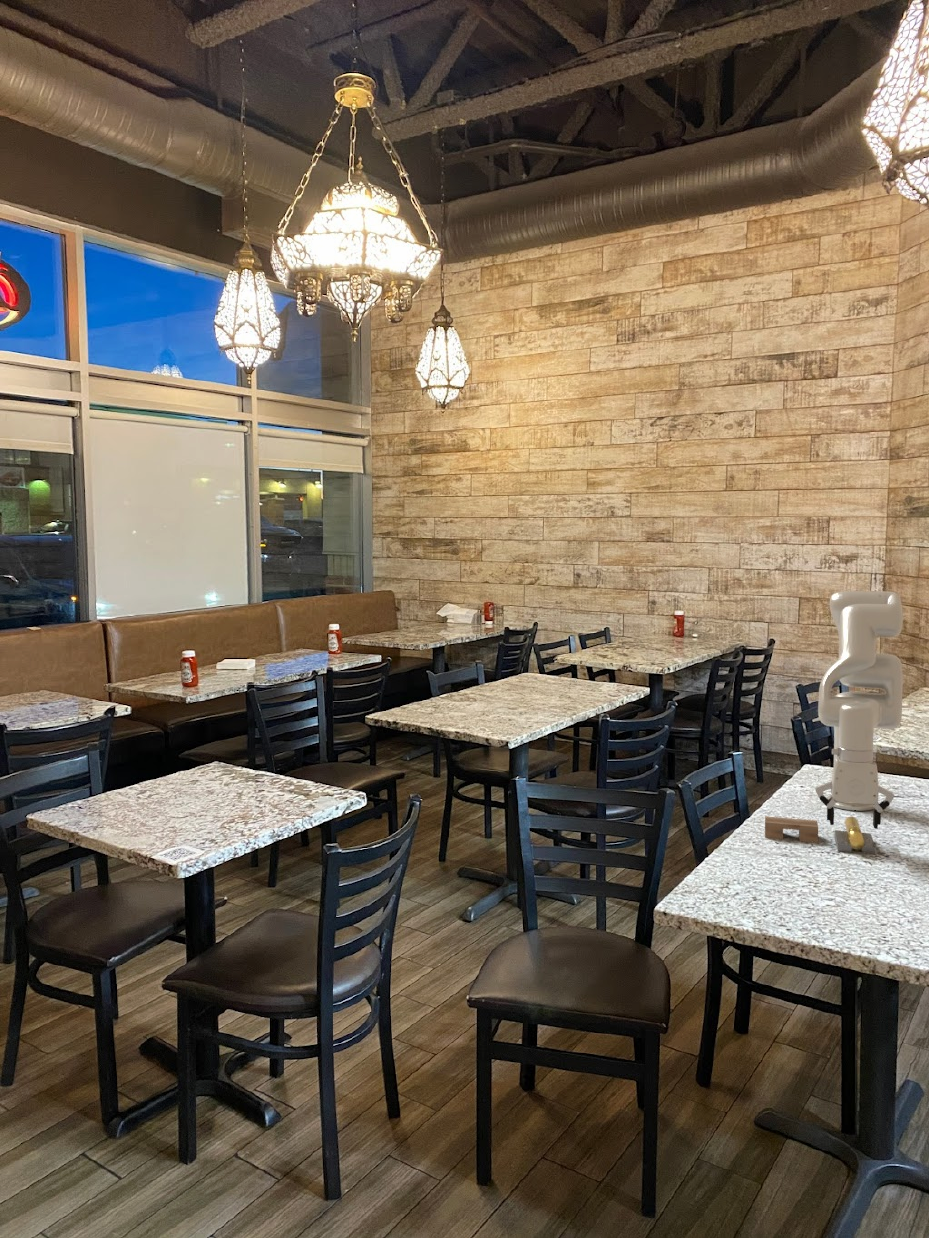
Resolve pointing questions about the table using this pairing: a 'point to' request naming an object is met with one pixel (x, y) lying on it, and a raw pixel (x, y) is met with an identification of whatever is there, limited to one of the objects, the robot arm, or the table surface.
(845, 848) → the iron V-block
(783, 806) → the table surface
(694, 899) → the table surface
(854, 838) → the brass rod
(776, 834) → the walnut beam
